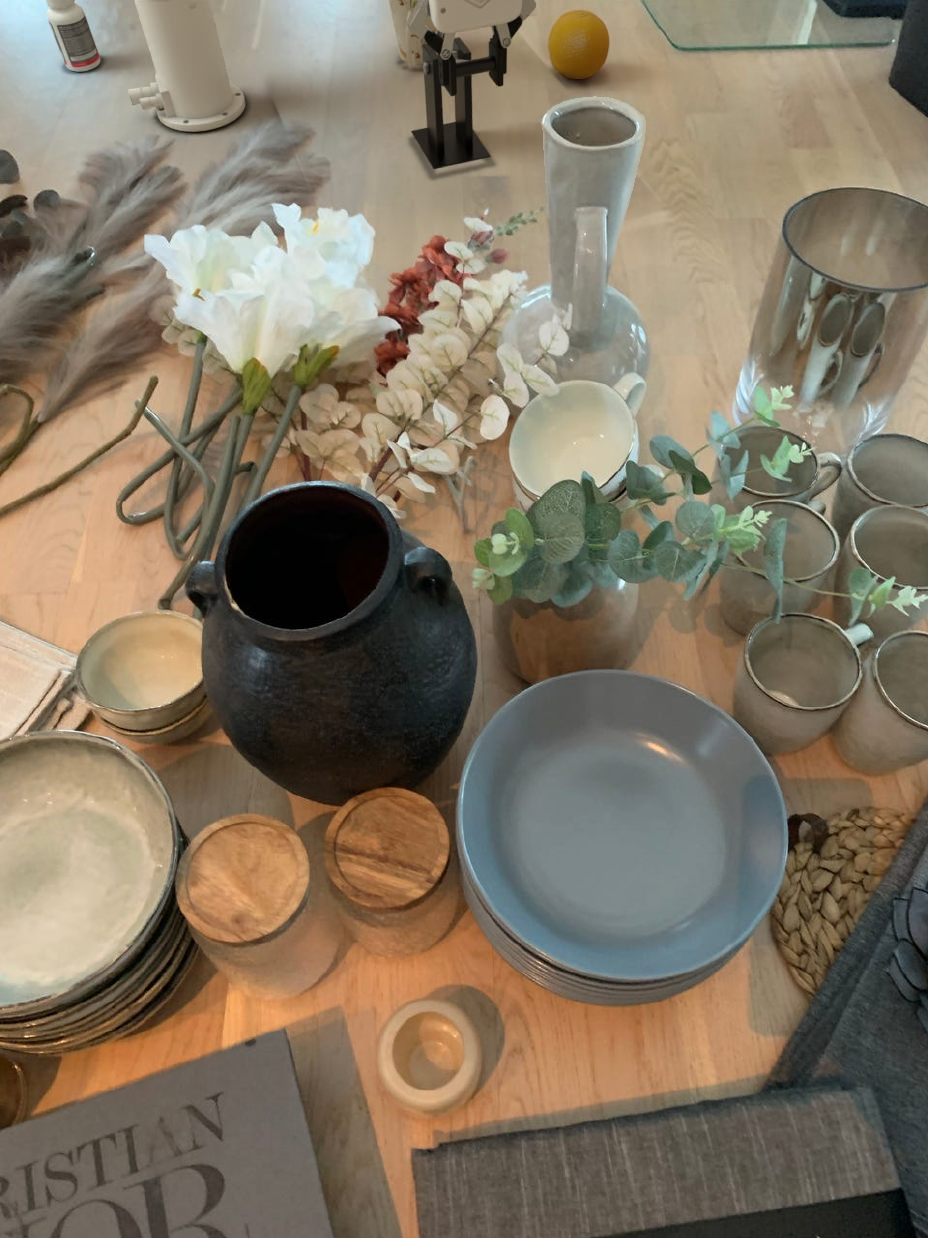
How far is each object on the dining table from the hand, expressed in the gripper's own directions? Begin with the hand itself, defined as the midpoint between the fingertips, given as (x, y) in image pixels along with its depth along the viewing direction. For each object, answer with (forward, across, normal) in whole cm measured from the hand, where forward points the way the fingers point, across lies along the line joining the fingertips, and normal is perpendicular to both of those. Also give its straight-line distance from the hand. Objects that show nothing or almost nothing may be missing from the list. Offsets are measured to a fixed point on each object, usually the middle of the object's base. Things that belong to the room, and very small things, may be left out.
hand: (473, 83), depth 101 cm
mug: (+13, +3, +34) cm, 36 cm away
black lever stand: (+13, 0, +10) cm, 16 cm away
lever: (+1, 0, +5) cm, 5 cm away
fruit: (+13, +24, +23) cm, 36 cm away
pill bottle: (+13, -45, +55) cm, 72 cm away
